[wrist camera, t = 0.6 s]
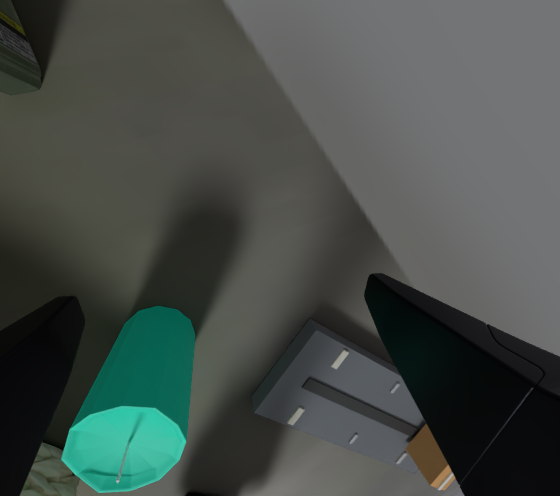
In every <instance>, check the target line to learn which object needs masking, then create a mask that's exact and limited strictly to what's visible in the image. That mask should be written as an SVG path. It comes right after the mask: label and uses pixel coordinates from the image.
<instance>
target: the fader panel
mask: <svg viewBox="0 0 560 496" xmlns="http://www.w3.org/2000/svg"><path fill="white" fill-rule="evenodd" d="M251 399H252V404H253V410H254V413H255V414H258V415H260V416H263V417H266V418H268V419H271V420H273V421H276V422H279V423H281V424H284V425H287V426H289V427H292V428H295V429H297V430H300V431H303V432H305V433H308V434H310V435H313V436H316V437H318V438H321V439H324V440H326V441H329V442H332V443H334V444H337V445H340V446H342V447H345V448H347V449H350V450H353V451H355V452H358V453H361V454H363V455H366V456H369V457H371V458H374V459H377V460H379V461H382V462H384V463H387V464H390V465H392V466H395V467H398V468H400V469H403V470H406V471H408V472H411V473H414V474H415V473H416V472H417V470H418V469H419V468H418V467H417V465H416V464H415V462H414V461H413V459H412V458H411V456H410V455H409V453H408V452H407V450H406V449H405V448H406V447H407V446H408V444H409V443H410V442H411V441H412V440H413V439H414V437H415V436H416V435H417V434H418V433H419V431H420V430H421V429H422V428H423V427H424V426H425V424H426V422H425V420H424V418H423V417H422V415H421V413H420V411H419V409H418V407H417V405H416V403H415V402H414V400H413V398H412V396H411V394H410V392H409V390H408V388H407V387H406V385H405V383H404V381H403V379H402V377H401V375H400V373H399V372H398V370H397V368H396V367H395V366H393V365H391V364H390V363H388V362H386V361H384V360H382V359H381V358H379V357H377V356H375V355H374V354H372V353H370V352H368V351H366V350H365V349H363V348H361V347H359V346H358V345H356V344H354V343H352V342H350V341H349V340H347V339H345V338H343V337H342V336H340V335H338V334H336V333H334V332H333V331H331V330H329V329H327V328H326V327H324V326H322V325H320V324H318V323H317V322H315V321H313V320H311V319H310V318H309V320H308V321H307V322H306V324H305V325H304V327H303V328H302V329H301V331H300V332H299V333H298V335H297V336H296V337H295V339H294V340H293V341H292V343H291V344H290V345H289V347H288V348H287V349H286V351H285V352H284V353H283V355H282V356H281V357H280V359H279V360H278V361H277V363H276V364H275V365H274V367H273V368H272V370H271V371H270V372H269V374H268V375H267V376H266V378H265V379H264V380H263V382H262V383H261V384H260V386H259V387H258V388H257V390H256V391H255V392H254V394H253V395H252V396H251Z"/></svg>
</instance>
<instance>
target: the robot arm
mask: <svg viewBox="0 0 560 496" xmlns="http://www.w3.org/2000/svg"><path fill="white" fill-rule="evenodd" d="M364 297H365V301H366V303H367V306H368V308H369V311H370V313H371V316H372V318H373V321H374V323H375V326H376V328H377V331H378V333H379V335H380V338H381V340H382V342H383V343H384V345H385V347H386V349H387V351H388V353H389V355H390V357H391V359H392V360H393V362H394V364H395V366H396V368H397V370H398V372H399V373H400V375H401V377H402V379H403V381H404V383H405V385H406V387H407V388H408V390H409V392H410V394H411V396H412V398H413V400H414V402H415V403H416V405H417V407H418V409H419V411H420V413H421V415H422V417H423V418H424V420H425V422H426V424H427V426H428V428H429V430H430V431H431V433H432V435H433V437H434V439H435V441H436V443H437V445H438V446H439V448H440V450H441V452H442V454H443V456H444V458H445V460H446V461H447V463H448V465H449V467H450V469H451V471H452V473H453V475H454V476H455V478H456V480H457V482H458V484H459V485H461V486H460V488H461V490H462V492H463V494H464V496H560V357H559V356H557V355H555V354H553V353H550V352H548V351H546V350H543V349H541V348H539V347H536V346H534V345H532V344H529V343H527V342H525V341H523V340H520V339H518V338H516V337H514V336H512V335H510V334H508V333H505V332H503V331H501V330H499V329H497V328H495V327H493V326H490V325H489V324H487V325H486V323H484V322H482V321H480V320H478V319H476V318H474V317H472V316H470V315H468V314H466V313H464V312H462V311H459V310H457V309H455V308H453V307H451V306H449V305H447V304H445V303H443V302H441V301H439V300H437V299H434V298H433V297H430V296H428V295H426V294H424V293H422V292H420V291H418V290H416V289H414V288H412V287H410V286H408V285H406V284H403V283H401V282H399V281H397V280H395V279H393V278H391V277H389V276H387V275H385V274H383V273H375V274H370V275H369V277H368V281H367V285H366V289H365V293H364ZM84 326H85V318H84V315H83V312H82V309H81V306H80V304H79V301H78V299H77V297H75V296H60V297H57V298H55V299H53V300H52V301H50V302H48V303H47V304H45V305H43V306H41V307H40V308H38V309H36V310H35V311H33V312H31V313H30V314H28V315H26V316H25V317H23V318H21V319H20V320H18V321H16V322H15V323H13V324H11V325H9V326H8V327H6V328H4V329H3V330H1V331H0V496H20V494H21V492H22V489H23V487H24V485H25V482H26V480H27V477H28V475H29V473H30V470H31V468H32V465H33V463H34V461H35V458H36V456H37V454H38V451H39V449H40V446H41V444H42V442H43V439H44V437H45V434H46V432H47V430H48V427H49V425H50V422H51V420H52V418H53V415H54V413H55V411H56V408H57V406H58V403H59V401H60V399H61V396H62V394H63V391H64V389H65V387H66V384H67V382H68V379H69V377H70V374H71V371H72V368H73V364H74V361H75V357H76V354H77V350H78V347H79V343H80V340H81V336H82V333H83V329H84ZM187 496H204V495H200V494H196V493H189V494H188V495H187Z"/></svg>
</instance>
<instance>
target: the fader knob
mask: <svg viewBox="0 0 560 496" xmlns="http://www.w3.org/2000/svg"><path fill="white" fill-rule="evenodd" d="M405 449H406V450H407V452H408V453H409V455H410V456H411V458H412V459H413V461H414V462H415V464H416V465H417V467H418V468H419V470H420V471H421V473H422V474H423V475H424V477H425V478H426V480H427V481H428V483H429V484H430V486H433V487H436V488H437V490H445V489H446V488H447V487H448V486H449V485H450V484H451V482H452V481H453V480H454V479H455V476H454V475H453V473H452V471H451V469H450V467H449V465H448V463H447V461H446V460H445V458H444V456H443V454H442V452H441V450H440V448H439V446H438V445H437V443H436V441H435V439H434V437H433V435H432V433H431V431H430V430H429V428H428V426H427V424H425V426H424V427H423V428H422V429H421V430H420V431H419V433H418V434H417V435H416V436H415V437H414V439H413V440H412V441H411V442H410V443H409V444H408V446H407V447H406V448H405Z"/></svg>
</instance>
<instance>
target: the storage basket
mask: <svg viewBox="0 0 560 496" xmlns="http://www.w3.org/2000/svg"><path fill="white" fill-rule="evenodd" d="M62 454H63V450H61V449H59V448H57V447H54V446H52V445H49V444H46V443H43V442H42V444H41V446H40V449H39V451H38V454H37V456H36V458H35V461H34V463H33V465H32V468H31V470H30V473H29V475H28V477H27V480H26V482H25V485H24V487H23V489H22V492H21V494H20V496H76V488H77V486H78V484H79V480H80V478H79V477H78V476H76V475H75V474H74V473H73V472H72V471H71V470H70V469H69V467H68V466H67V465H66V464H65V463H64V462H63V461H62V460H61V458H62Z"/></svg>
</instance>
